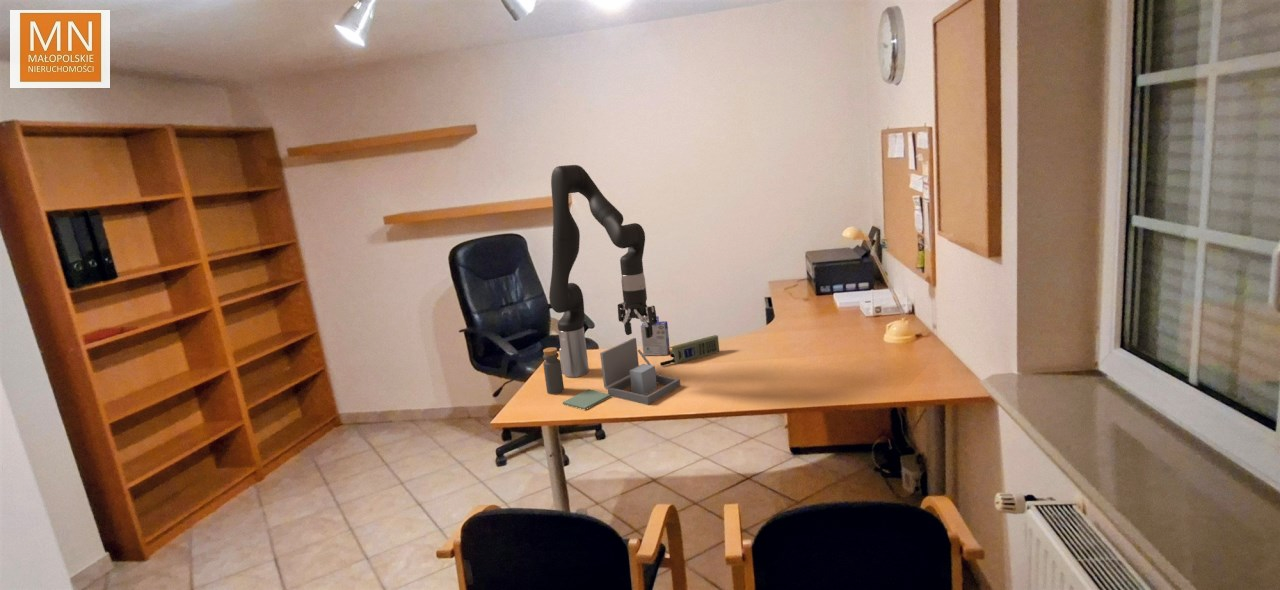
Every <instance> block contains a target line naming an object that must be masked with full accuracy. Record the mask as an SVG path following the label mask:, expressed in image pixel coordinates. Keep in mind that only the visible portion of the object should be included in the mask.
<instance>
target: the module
mask: <svg viewBox="0 0 1280 590" xmlns="http://www.w3.org/2000/svg"><path fill="white" fill-rule="evenodd" d="M655 371H656V366H655V365H652V364H651V365H648V364H647V363H642V364H640V365H639V366H638V367H636V368H634V369H632V370H630V379H631V385H630V388H631V392H633V393H637V394H642V395H646V396H647V395H649V394H651V393H653V392H655V391H656V390H658V387H657V386H658V385H657V384H658V383H656V373H655Z"/></svg>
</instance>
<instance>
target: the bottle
mask: <svg viewBox="0 0 1280 590" xmlns="http://www.w3.org/2000/svg"><path fill="white" fill-rule="evenodd" d="M542 352H543V355H542V357H543V359H544V361H543V362H542V365H543V372H544V381H545V387H546V393H547V394H549V395H557V394H561V393H563V392H564V391H565V388H564V387H565V385H564V379H563V378H564V377H563V374H562V369H561V361H560V359H559V358H558V357H560V354H559V353H558V348H557V347H546V348H544V349H543V350H542Z"/></svg>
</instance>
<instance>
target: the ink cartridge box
mask: <svg viewBox="0 0 1280 590" xmlns="http://www.w3.org/2000/svg"><path fill="white" fill-rule="evenodd" d="M656 318H657V324H654V325H652V331H653V335H652V337H650V338H646V331H645V327H646V326H645V324H644V323H643V322H642V324H641V325H640V333H641V343H642V346H641V347H642V353H643V355H644V356H645V357H647V356H668V355H669V353H670V352H671V351H670V350H671V348H670V347H671V346H670V338H669V337H670V335H669V327H668V321H666V320H665V321H660V319H659V316H657V315H656Z"/></svg>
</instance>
